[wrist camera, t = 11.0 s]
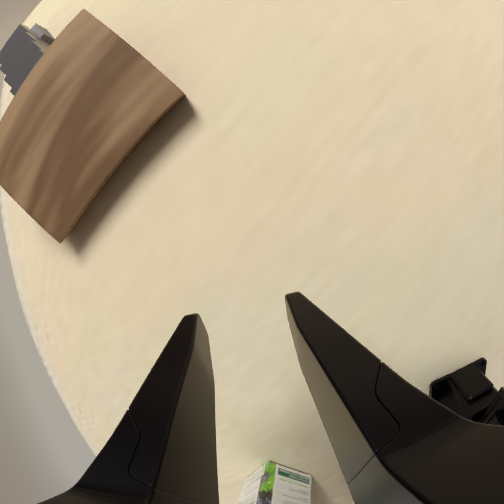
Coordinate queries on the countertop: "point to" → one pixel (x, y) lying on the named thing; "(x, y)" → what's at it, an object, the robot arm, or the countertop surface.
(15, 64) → the domino
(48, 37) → the block
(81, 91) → the board
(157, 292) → the countertop surface
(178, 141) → the countertop surface
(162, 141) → the countertop surface
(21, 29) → the domino
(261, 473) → the syrup box
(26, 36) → the domino
